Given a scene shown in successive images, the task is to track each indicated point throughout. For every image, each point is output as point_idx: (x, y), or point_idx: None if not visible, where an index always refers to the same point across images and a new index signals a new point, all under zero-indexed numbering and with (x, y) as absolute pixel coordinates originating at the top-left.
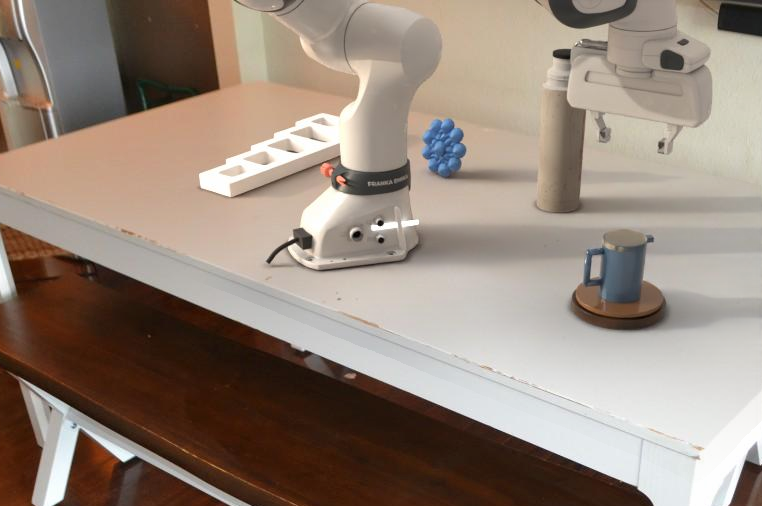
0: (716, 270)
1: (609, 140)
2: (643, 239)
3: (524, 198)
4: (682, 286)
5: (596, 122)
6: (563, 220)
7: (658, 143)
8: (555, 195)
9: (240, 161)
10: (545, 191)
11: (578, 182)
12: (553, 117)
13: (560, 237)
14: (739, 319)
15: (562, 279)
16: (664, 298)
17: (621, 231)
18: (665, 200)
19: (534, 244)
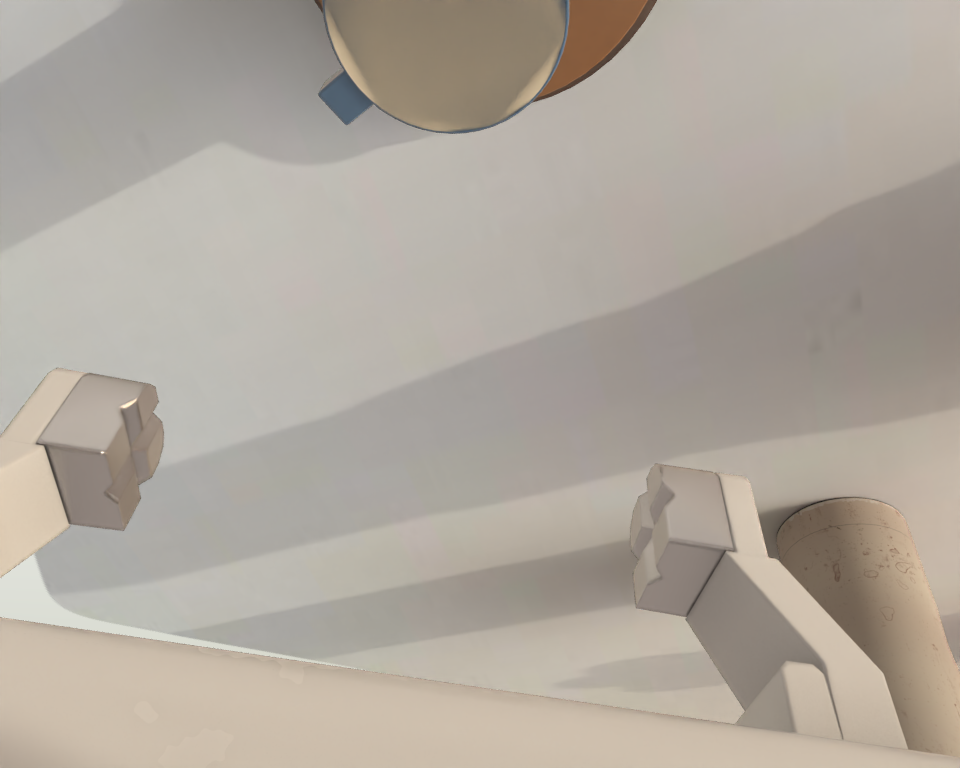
0: (298, 319)
1: (634, 510)
2: (349, 36)
3: (946, 546)
4: (340, 186)
5: (789, 624)
6: (812, 465)
7: (111, 440)
8: (859, 541)
9: None
10: (895, 550)
11: None
12: None
13: (808, 370)
14: (70, 19)
15: (758, 73)
16: (321, 8)
17: (490, 94)
18: (560, 603)
19: (897, 302)
